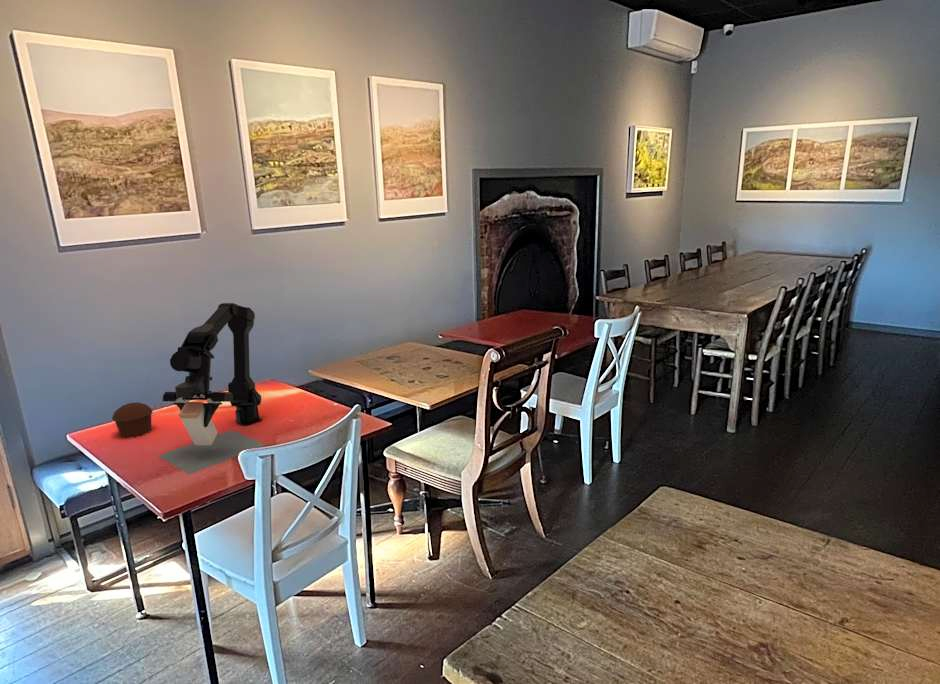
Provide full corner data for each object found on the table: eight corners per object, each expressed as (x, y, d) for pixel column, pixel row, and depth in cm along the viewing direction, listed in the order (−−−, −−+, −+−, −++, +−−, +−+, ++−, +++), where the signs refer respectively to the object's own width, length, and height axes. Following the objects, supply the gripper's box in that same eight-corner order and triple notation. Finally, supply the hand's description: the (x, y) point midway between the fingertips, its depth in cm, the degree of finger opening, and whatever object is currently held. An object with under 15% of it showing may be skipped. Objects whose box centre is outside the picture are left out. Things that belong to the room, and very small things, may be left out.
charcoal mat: (232, 431, 192) (232, 430, 192) (266, 446, 180) (266, 444, 180) (157, 456, 174) (157, 455, 174) (189, 475, 162) (189, 474, 162)
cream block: (202, 432, 176) (186, 402, 167) (217, 432, 175) (203, 402, 167) (194, 445, 172) (178, 414, 164) (211, 445, 171) (195, 414, 163)
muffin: (149, 423, 201) (144, 396, 198) (160, 431, 193) (156, 403, 191) (110, 433, 192) (105, 405, 190) (121, 443, 185) (115, 413, 182)
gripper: (151, 371, 163) (148, 427, 161) (215, 371, 161) (212, 428, 159) (175, 373, 174) (172, 426, 172) (235, 373, 172) (232, 426, 170)
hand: (196, 426), depth 168 cm, fingers closed on cream block, 5 cm apart
